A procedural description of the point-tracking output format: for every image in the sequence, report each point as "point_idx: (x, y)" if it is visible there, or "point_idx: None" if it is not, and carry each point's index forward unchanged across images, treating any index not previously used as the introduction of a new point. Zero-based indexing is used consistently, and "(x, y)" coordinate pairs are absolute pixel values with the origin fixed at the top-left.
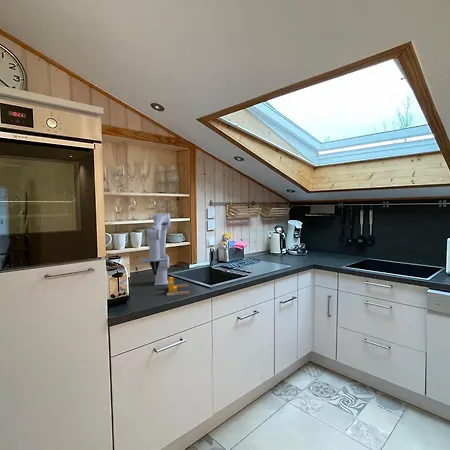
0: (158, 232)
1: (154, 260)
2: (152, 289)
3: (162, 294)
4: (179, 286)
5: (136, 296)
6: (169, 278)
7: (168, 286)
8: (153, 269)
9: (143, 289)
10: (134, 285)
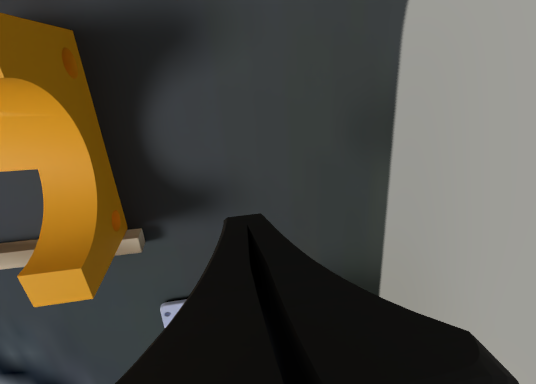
0: None
1: None
2: (260, 204)
3: (144, 33)
4: (27, 244)
5: (378, 23)
6: (74, 266)
7: (130, 235)
8: (294, 262)
9: (323, 210)
10: (373, 290)
